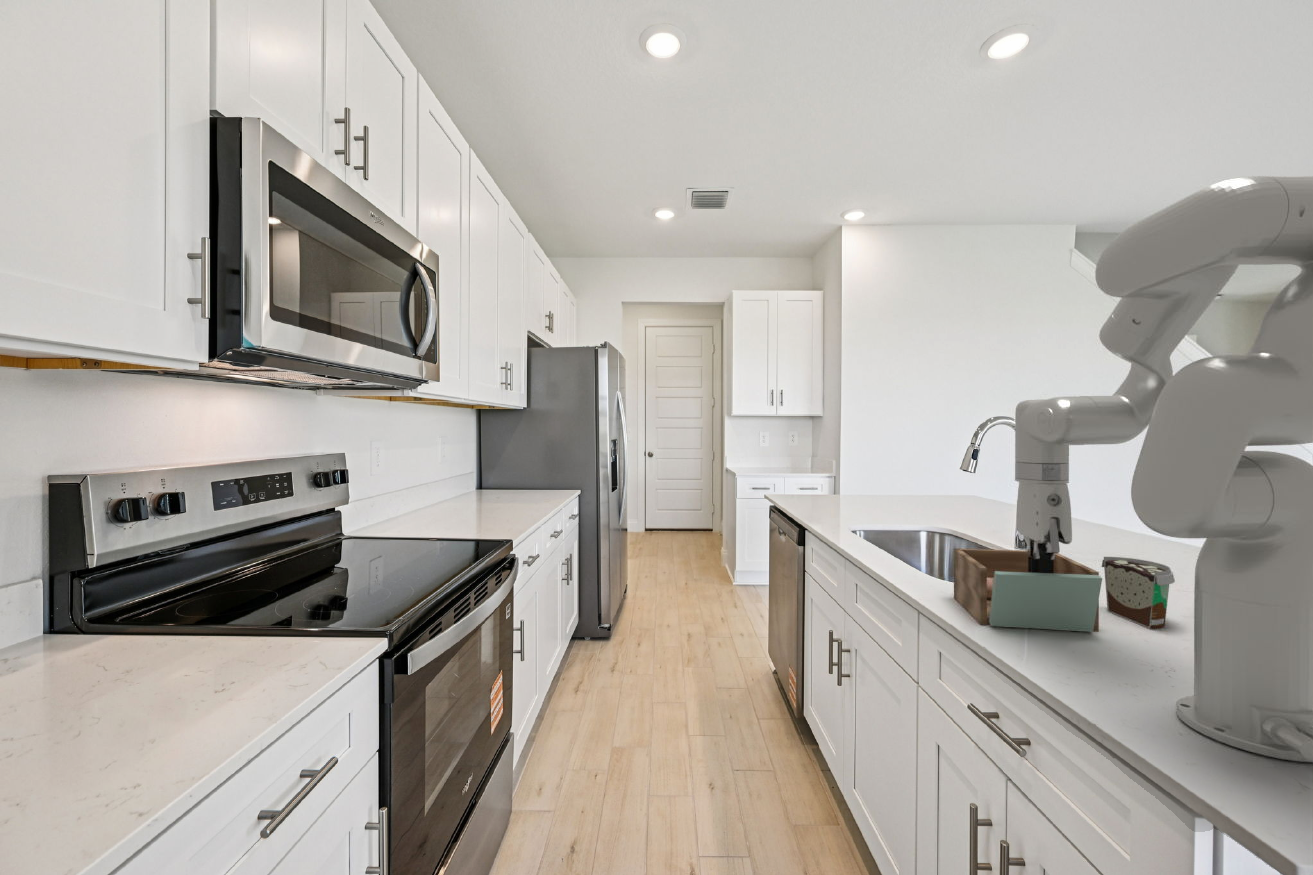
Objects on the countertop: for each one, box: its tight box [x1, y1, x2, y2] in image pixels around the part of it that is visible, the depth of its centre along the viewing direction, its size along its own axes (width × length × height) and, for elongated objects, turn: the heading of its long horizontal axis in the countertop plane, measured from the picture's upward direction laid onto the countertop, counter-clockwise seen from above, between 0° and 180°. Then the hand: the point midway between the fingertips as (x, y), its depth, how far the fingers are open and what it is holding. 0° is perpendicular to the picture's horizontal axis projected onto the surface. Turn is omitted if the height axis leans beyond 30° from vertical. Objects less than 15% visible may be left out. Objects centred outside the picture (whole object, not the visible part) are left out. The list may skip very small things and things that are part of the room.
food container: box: [1101, 556, 1176, 630], centre depth 101 cm, size 12×6×10 cm, turn 179°
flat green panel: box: [989, 571, 1103, 632], centre depth 96 cm, size 1×15×10 cm, turn 78°
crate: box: [953, 547, 1100, 632], centre depth 105 cm, size 16×18×10 cm
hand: (1040, 581), depth 96 cm, fingers closed
